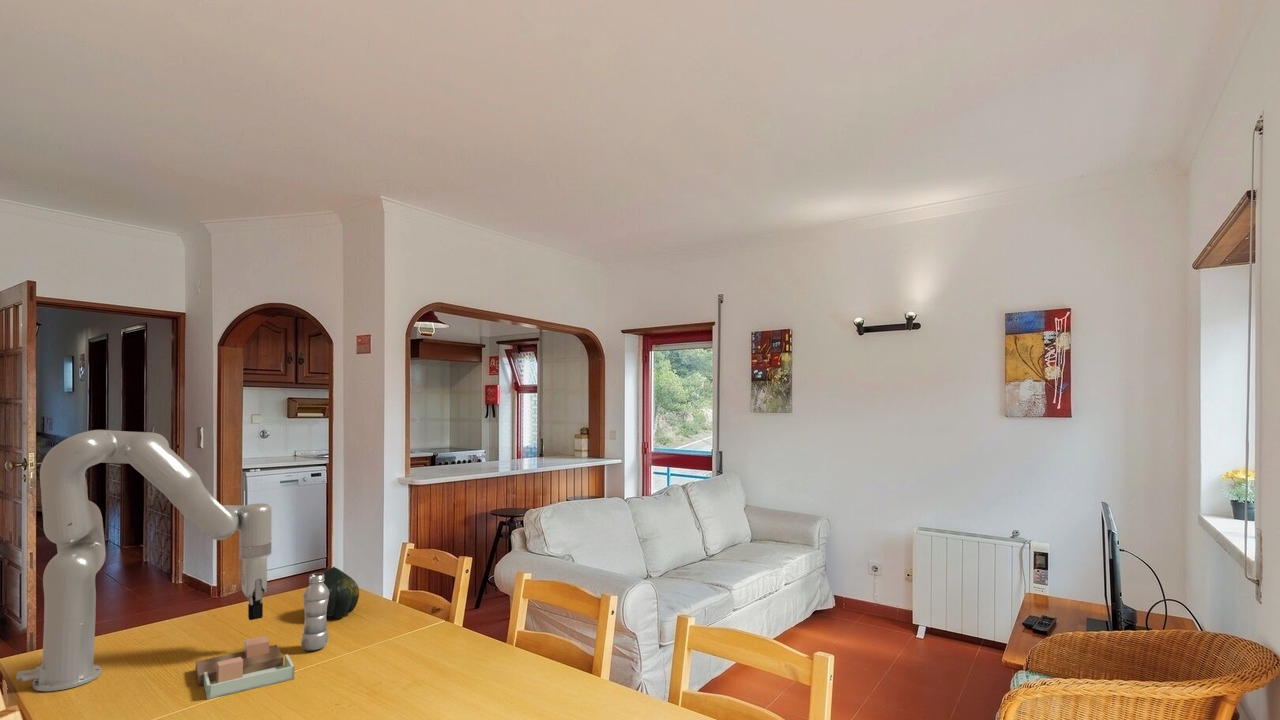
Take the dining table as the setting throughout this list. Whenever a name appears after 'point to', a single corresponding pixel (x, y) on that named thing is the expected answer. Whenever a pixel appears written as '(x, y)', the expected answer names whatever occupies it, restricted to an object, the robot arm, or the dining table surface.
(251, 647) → the tile
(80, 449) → the robot arm
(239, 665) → the tile
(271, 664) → the board
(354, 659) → the dining table surface
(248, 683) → the tray
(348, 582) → the squash
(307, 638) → the plastic bottle
